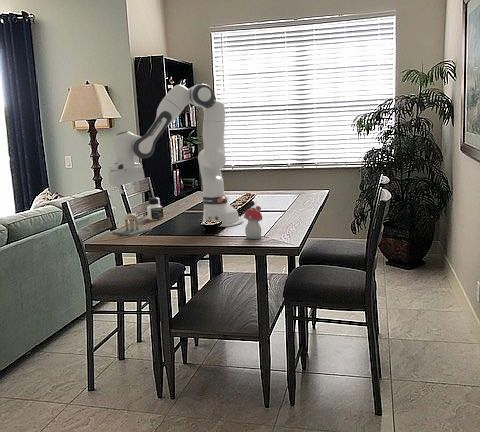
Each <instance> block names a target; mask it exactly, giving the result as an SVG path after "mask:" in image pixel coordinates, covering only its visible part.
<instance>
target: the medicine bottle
mask: <svg viewBox="0 0 480 432" xmlns="http://www.w3.org/2000/svg"><path fill="white" fill-rule="evenodd" d="M148 205H149V206H146V210H147V219H148V220H150V221H157V220H158V219H159V220H163V219H164V208H163V206H162V205H161V201H160V198H159V197H150V198H148Z"/></svg>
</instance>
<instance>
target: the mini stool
mask: <svg viewBox="0 0 480 432" xmlns="http://www.w3.org/2000/svg"><path fill="white" fill-rule="evenodd" d="M138 220H139V219H138V217H137V213H127V214H125V216H124V223H125V228H126V231H128V228H129V227H130V229H131V231H133V229H134V226H136V230H139V229H138V227H139V223H138V222H139V221H138ZM128 221H129V223H128ZM134 221H135V223H134Z"/></svg>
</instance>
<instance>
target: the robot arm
mask: <svg viewBox="0 0 480 432" xmlns="http://www.w3.org/2000/svg"><path fill="white" fill-rule="evenodd" d="M188 105H190V106H193V107H196V108H202V110H203V121H202V140H203V141H202V142H203V149H202V150H200V152H199V153H198V155H197V160H198V161H197V162H198V166H199V172H200V176H201V181H202V194H203V196H202V203H203V214H202V215H203V217H202V224H203V222H205V221H207V220H216V221H222V224H221V225H220V226H219V227H224V228H225V227H226V228H227V227H232V226H233V227H234V226H238V225H241V224H243V223H244V222H245V221H244V219H240V218H239V212H238V210H237V209H236V208H234V207H233V206H232V205H231V204H230V203H229V196H227V197H226V195H225V186H224V185H225V184H224V182H225V181H224V178H223V174H222V170H221V169H223V167H225V166H226V165H225V164H226V162H227V161H226V160H227V159H226V153H225V151H226V149H225V126H226V125H225V124H226V123H225V122H226V109H225V104H224V102H223V101H221V100H219V99H217V97H216V95H215V93H214V90H213V88H212V87H211V86H210V85H208V84H207V83H198V84H195V85H193V86H191V87H188V88H187V87H186V86H185V85H183V84H176V85H175V86H173V87H172V88H171V89H170V90H169V91H168V92H167V93H166V95H165V96H164V97H163V98H162V99H161V101H160V103H159V105H158V106H157V109H156V117H155V120H154V122H153V123H152V125H151V126H150V127H149V129H148V130H147V132H146V133H145V134H144V135H142V136H141V135H137V134H135V133H133V132H131V131H128V130H126V131H125V130H124V131H120V132H118V133H116V134H115V136H114V139H113V140H114V141H113V142H114V152H115V162H113V163H111V164H110V165H108V170H109V172H108V183H109V185H110V186H115V187H116V189H117V190H118V194H124V189H122V185H125V184H132V183H134V186H133V187H132V188H133V191H134V192H135V191H138V190H139V185H140V182H141V181H145V178H146V177H145V172H144V168H143V164H142V163H140V162H135V156H136V157H138V158H140V159H148V158H150V157H152V156H153V154H154V152H155V151H156V150H155V149H156V144H157V141H159V139H160V138H161V136H162V135H163V133H164V131H165V130H166V129H167V127H169V125H171V124H172V123H173V122H174V121H175V120H176V119H177V118H178V117H179V116H180V115H181V113H182V112H183V111H184V109H185V107H187V106H188Z"/></svg>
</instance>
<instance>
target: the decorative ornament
mask: <svg viewBox="0 0 480 432" xmlns="http://www.w3.org/2000/svg"><path fill="white" fill-rule="evenodd" d="M261 210H262V208H261V206H259V205H257V206H255V207H250V208H248V209H246V211H245V212H244V216H243V218H244V219H246V220H247V224H246V226H245V231H244V232H245V236H246V238H247V239H249V240H258V239H261V238H262V227H261V224H260V221H262V220H263V216H262V213H261Z"/></svg>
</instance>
